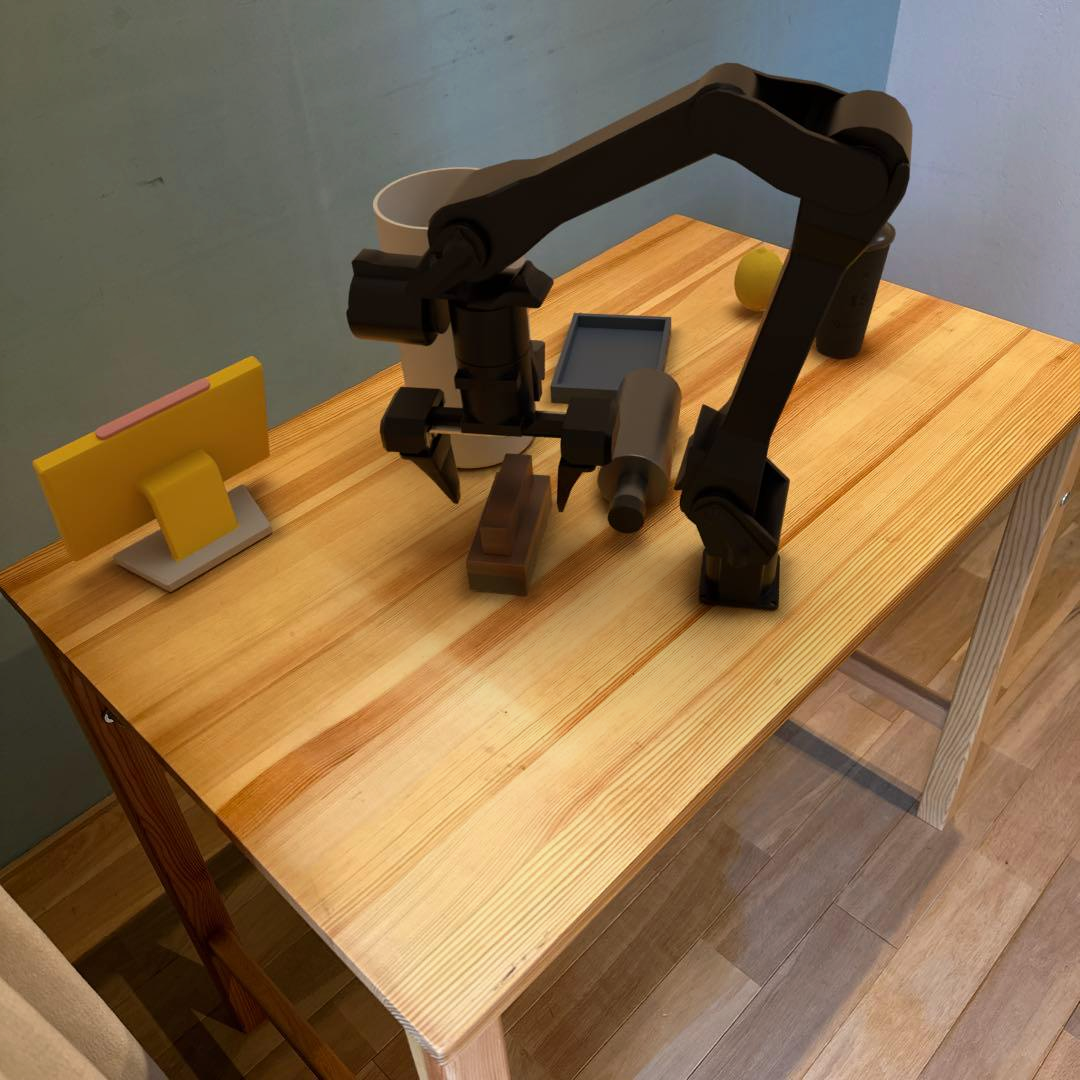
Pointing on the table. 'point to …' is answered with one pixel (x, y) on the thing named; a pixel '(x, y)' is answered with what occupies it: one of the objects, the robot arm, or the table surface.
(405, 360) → the cylinder vase
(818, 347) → the drinking cup
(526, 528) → the scrub brush
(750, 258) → the lemon
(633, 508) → the bottle
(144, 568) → the yellow framed monitor
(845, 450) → the table surface
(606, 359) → the tray
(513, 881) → the table surface
